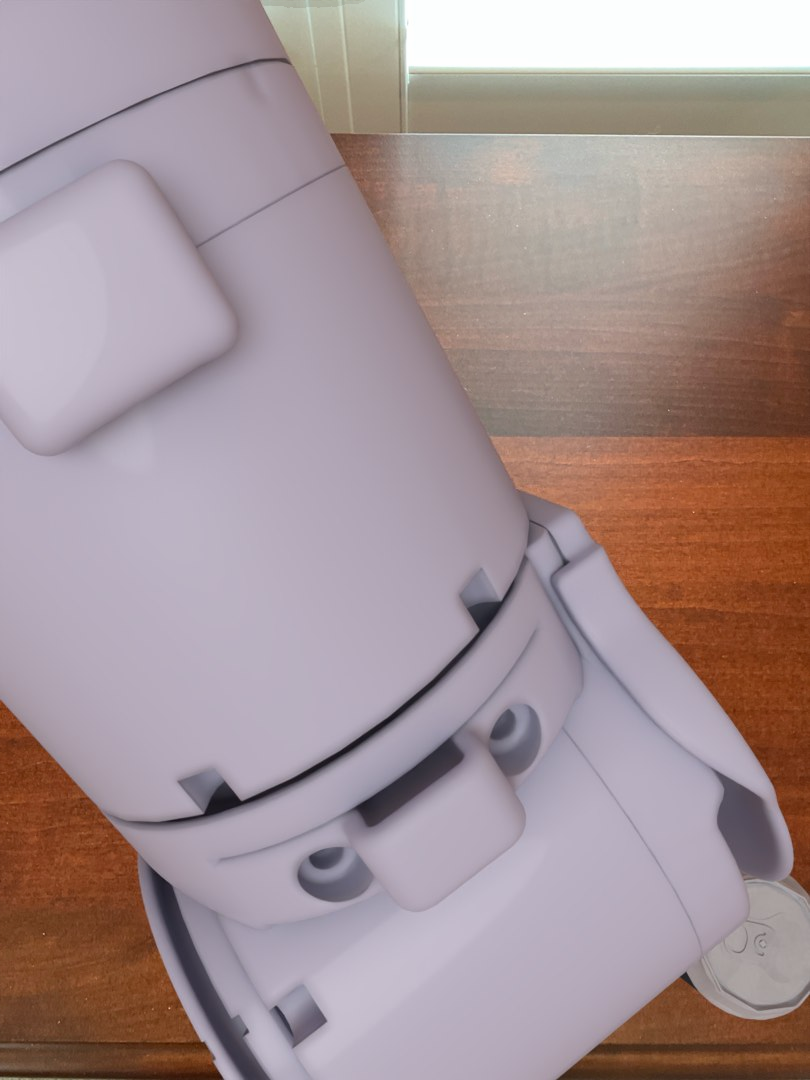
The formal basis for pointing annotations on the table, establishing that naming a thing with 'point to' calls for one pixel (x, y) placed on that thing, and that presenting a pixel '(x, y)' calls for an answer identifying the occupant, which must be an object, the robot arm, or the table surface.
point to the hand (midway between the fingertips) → (415, 782)
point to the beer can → (761, 955)
